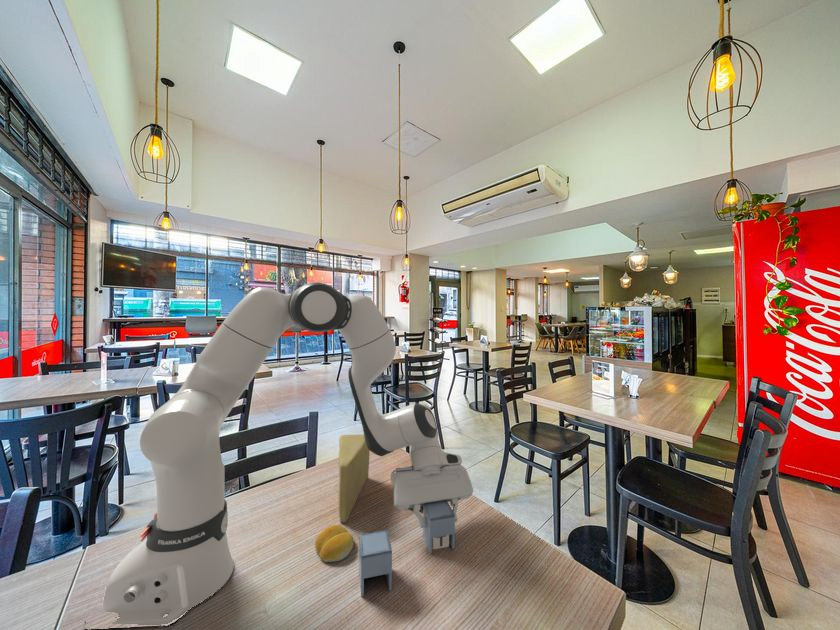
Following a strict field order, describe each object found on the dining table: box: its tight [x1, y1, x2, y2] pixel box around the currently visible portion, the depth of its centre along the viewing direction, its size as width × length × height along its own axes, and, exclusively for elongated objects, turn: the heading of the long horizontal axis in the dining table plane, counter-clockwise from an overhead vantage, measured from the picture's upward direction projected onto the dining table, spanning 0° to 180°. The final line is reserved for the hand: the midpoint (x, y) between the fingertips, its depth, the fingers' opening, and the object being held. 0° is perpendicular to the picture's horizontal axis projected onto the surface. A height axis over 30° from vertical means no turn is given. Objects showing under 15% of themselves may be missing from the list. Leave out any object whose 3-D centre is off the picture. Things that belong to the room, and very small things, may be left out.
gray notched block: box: [358, 529, 393, 598], centre depth 64 cm, size 6×6×8 cm
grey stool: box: [422, 500, 456, 554], centre depth 75 cm, size 6×6×8 cm
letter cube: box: [432, 535, 450, 551], centre depth 75 cm, size 4×4×4 cm
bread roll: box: [314, 524, 354, 563], centre depth 72 cm, size 8×9×4 cm
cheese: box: [338, 433, 370, 523], centre depth 92 cm, size 22×10×15 cm, turn 4°
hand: (439, 524), depth 74 cm, fingers closed on grey stool, 6 cm apart
